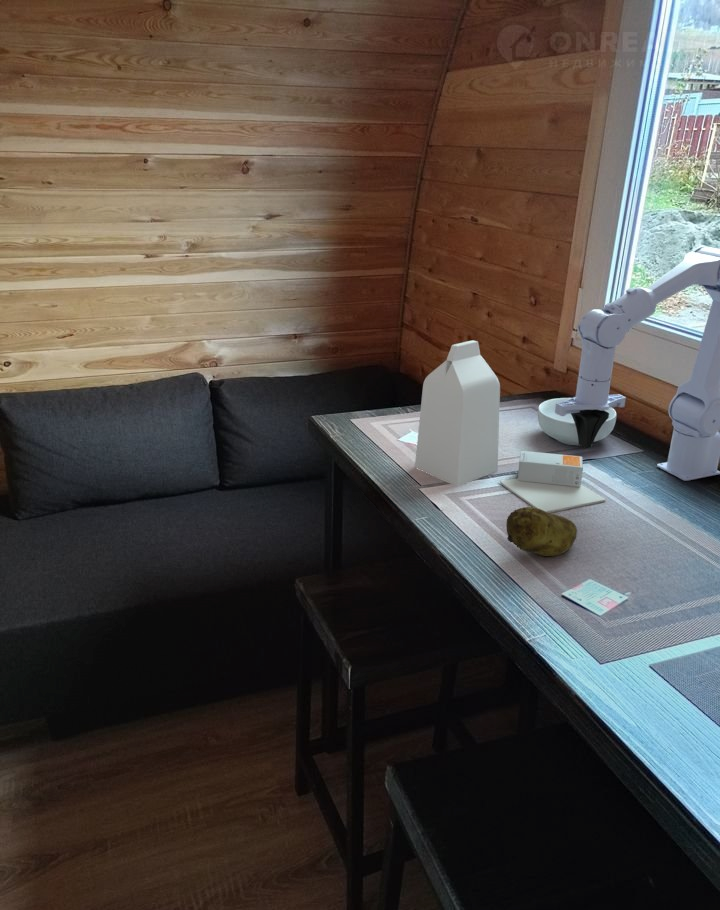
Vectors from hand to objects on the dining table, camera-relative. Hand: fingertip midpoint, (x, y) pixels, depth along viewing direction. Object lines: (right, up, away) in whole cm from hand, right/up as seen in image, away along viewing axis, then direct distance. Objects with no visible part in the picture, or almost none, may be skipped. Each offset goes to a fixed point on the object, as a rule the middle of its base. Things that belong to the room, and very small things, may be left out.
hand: (584, 446), depth 146 cm
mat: (-6, -9, +1) cm, 11 cm away
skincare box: (+1, -5, +4) cm, 6 cm away
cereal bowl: (+5, +2, +27) cm, 27 cm away
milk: (-23, -5, +10) cm, 26 cm away
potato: (-13, -18, -20) cm, 30 cm away
